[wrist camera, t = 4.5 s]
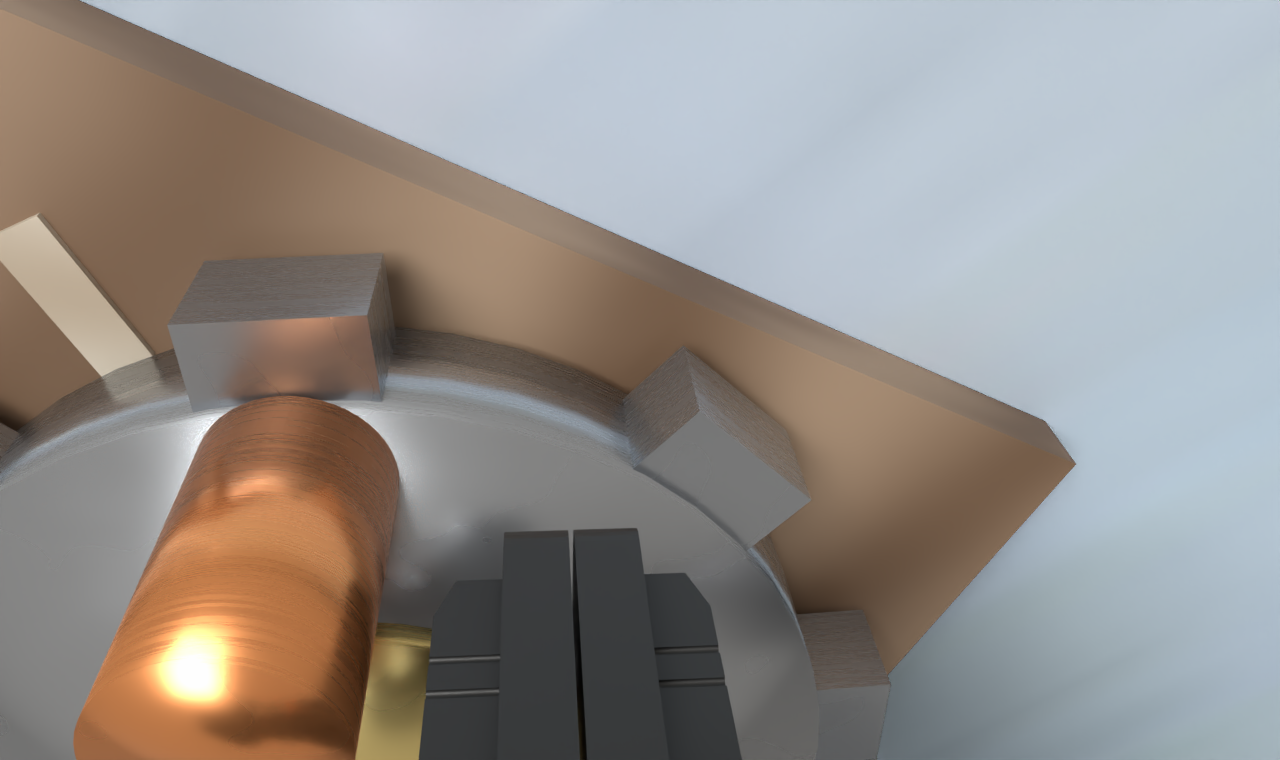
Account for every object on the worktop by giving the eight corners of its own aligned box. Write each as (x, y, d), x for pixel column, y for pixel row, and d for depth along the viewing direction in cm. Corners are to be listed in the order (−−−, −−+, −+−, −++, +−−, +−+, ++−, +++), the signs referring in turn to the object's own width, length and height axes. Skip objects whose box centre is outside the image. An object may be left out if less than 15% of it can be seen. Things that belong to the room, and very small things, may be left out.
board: (1045, 420, 18) (1079, 467, 17) (604, 938, 25) (607, 993, 24) (-38, -51, 12) (-93, -27, 11) (-185, 789, 20) (-225, 852, 19)
